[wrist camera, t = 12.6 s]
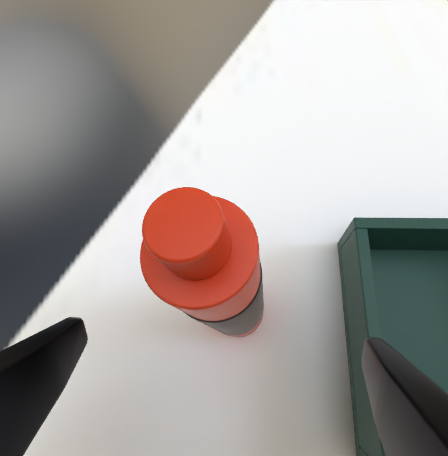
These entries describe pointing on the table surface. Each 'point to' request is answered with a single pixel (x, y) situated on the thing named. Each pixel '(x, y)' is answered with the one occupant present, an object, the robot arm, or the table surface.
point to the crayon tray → (394, 303)
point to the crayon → (204, 259)
